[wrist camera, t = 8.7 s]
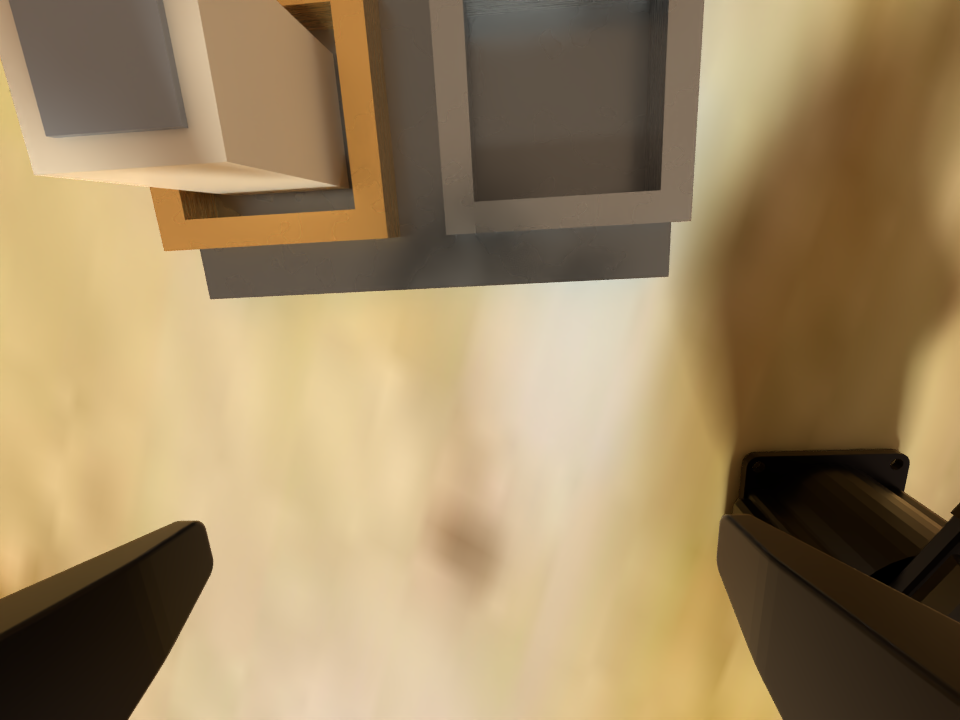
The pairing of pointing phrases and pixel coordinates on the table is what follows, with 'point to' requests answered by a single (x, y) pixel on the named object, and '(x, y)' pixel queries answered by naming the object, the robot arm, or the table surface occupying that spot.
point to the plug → (174, 94)
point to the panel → (474, 151)
